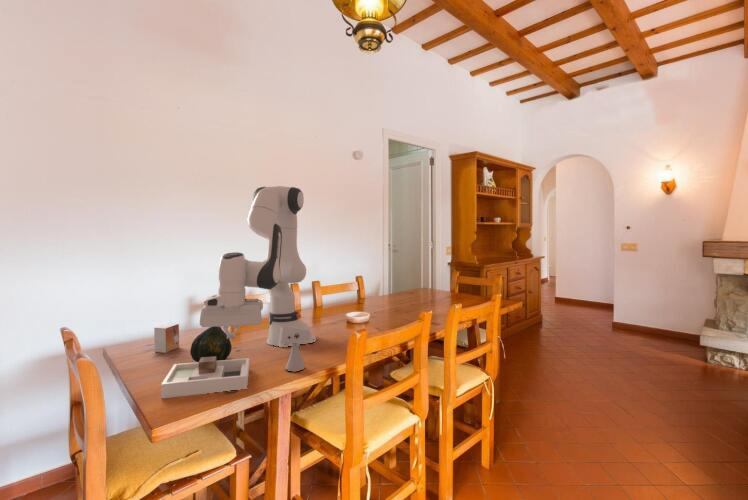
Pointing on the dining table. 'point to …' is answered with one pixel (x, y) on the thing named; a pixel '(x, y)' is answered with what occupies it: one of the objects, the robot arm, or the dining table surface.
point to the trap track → (205, 378)
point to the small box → (166, 337)
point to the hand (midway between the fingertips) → (231, 338)
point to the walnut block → (207, 365)
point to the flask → (295, 358)
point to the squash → (211, 345)
